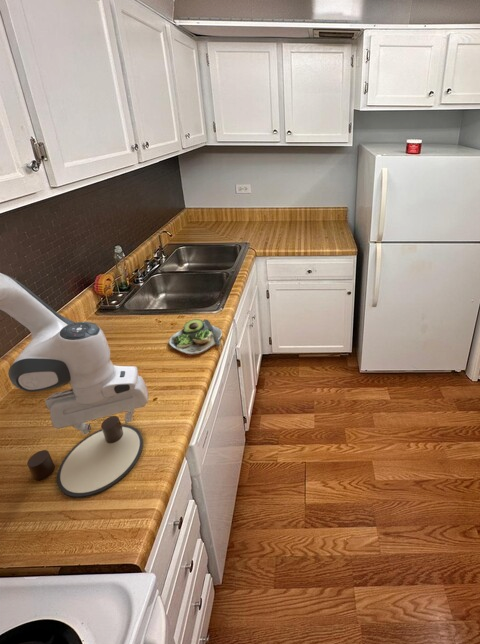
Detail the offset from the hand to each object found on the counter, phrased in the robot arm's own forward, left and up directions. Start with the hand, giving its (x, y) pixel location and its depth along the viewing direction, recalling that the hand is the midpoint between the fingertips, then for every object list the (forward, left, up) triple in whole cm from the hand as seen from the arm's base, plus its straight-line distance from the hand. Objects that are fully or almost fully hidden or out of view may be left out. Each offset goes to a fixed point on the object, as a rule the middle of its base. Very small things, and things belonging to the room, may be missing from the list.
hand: (108, 426), depth 84 cm
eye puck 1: (-13, -4, -5) cm, 15 cm away
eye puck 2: (+1, 0, -4) cm, 4 cm away
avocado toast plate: (+22, +35, -5) cm, 42 cm away
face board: (-1, -5, -5) cm, 7 cm away
